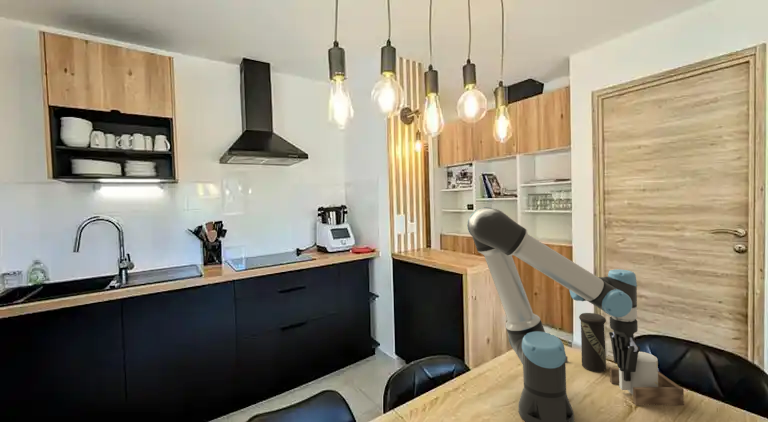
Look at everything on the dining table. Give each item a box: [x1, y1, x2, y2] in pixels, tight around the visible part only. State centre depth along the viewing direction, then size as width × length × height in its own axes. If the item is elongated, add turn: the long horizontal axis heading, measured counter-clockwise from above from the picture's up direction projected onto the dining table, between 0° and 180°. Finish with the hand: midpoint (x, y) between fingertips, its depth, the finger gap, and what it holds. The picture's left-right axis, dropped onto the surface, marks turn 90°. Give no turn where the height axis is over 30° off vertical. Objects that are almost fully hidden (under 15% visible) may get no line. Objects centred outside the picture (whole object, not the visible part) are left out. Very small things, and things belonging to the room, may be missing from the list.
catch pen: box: [609, 367, 685, 406], centre depth 115 cm, size 14×14×5 cm
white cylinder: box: [627, 351, 659, 396], centre depth 115 cm, size 8×8×12 cm
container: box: [578, 312, 607, 373], centre depth 134 cm, size 9×9×20 cm
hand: (625, 388), depth 116 cm, fingers closed
